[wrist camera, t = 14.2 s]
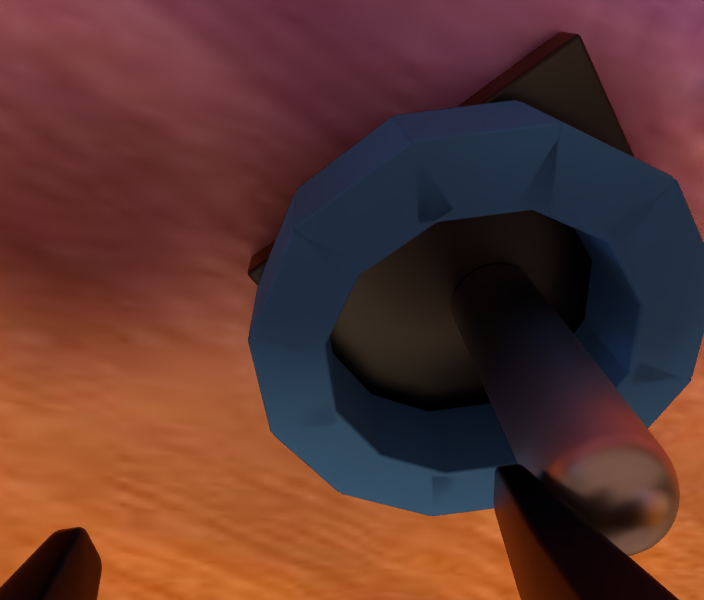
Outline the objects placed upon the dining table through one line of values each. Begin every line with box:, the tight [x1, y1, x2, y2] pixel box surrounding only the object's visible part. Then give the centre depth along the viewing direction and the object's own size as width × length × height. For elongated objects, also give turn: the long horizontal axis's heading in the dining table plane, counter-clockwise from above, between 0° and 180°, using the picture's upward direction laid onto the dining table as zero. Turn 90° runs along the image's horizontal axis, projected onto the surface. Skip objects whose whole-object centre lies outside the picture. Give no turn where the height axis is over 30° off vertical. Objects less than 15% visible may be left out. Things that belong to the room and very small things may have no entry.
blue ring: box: [248, 100, 704, 516], centre depth 13 cm, size 10×10×2 cm
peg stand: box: [248, 32, 680, 556], centre depth 11 cm, size 9×9×8 cm
